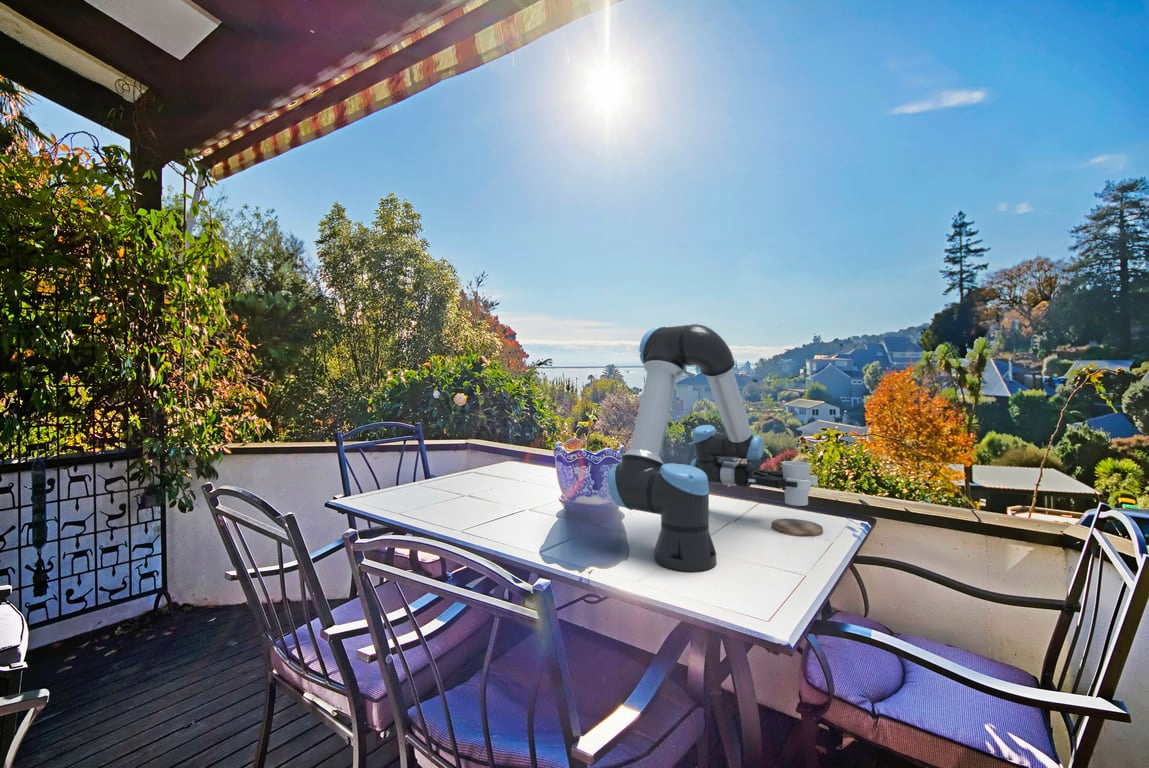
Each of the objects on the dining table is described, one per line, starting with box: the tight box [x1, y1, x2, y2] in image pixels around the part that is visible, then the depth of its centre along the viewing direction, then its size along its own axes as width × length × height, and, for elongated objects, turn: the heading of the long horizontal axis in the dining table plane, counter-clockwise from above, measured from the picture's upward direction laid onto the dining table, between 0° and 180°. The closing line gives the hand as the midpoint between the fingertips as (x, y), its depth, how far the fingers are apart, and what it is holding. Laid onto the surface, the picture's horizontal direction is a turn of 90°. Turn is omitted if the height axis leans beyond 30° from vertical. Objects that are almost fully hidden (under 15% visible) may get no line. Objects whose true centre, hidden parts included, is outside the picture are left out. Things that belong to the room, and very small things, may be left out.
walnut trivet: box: [771, 518, 824, 537], centre depth 146 cm, size 14×14×1 cm
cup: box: [781, 460, 812, 507], centre depth 146 cm, size 8×8×12 cm
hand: (813, 483), depth 143 cm, fingers closed on cup, 7 cm apart
